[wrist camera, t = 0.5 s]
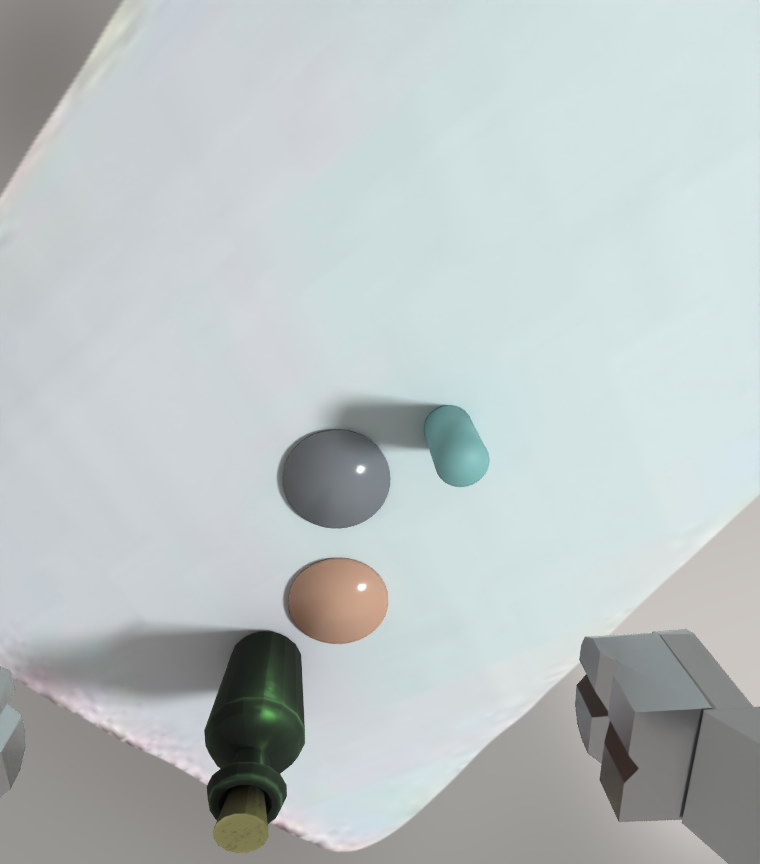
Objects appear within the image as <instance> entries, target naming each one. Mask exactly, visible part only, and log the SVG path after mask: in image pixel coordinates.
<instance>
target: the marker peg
mask: <svg viewBox="0 0 760 864" xmlns="http://www.w3.org/2000/svg"><path fill="white" fill-rule="evenodd" d="M424 434H425V437H426V440H427V443H428V446H429V450H430V453H431V456H432V459H433V462H434V465H435V468H436V471H437V474H438V475H439V477H440V478H441V479H442V480H443V481H444V482H445V483H447V484H449V485H452V486H455V487H466V486H469V485H472V484H474V483H476V482H478V481H479V480H480V479H481V478H482V477H483V476H484V475H485V473H486V471H487V469H488V466H489V454H488V451H487V449H486V447H485V445H484V444H483V442H482V440H481V438H480V436H479V434H478V432H477V430H476V428H475V426H474V424H473V423H472V421H471V419H470V417H469V415H468V414H467V413H466V412H465V411H464V410H463V409H461V408H459V407H457V406H452V405H446V406H442V407H439V408H437V409H435V410H434V411H433V412H431V413H430V415H429V416H428V417H427V419H426V421H425V425H424Z"/></svg>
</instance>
